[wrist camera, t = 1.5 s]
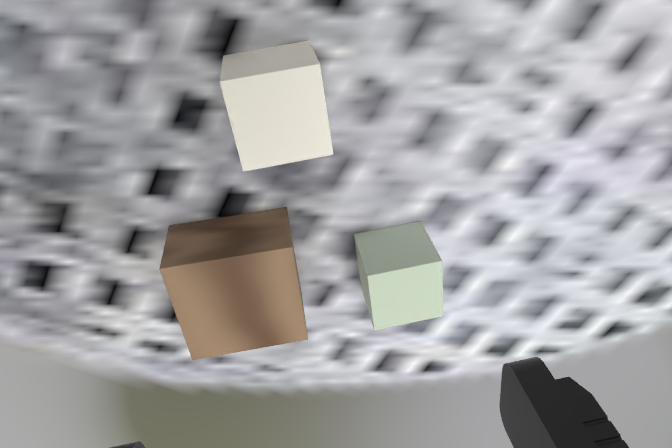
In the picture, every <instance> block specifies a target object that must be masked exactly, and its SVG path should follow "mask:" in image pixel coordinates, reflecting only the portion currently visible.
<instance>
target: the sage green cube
mask: <svg viewBox="0 0 672 448" xmlns="http://www.w3.org/2000/svg"><path fill="white" fill-rule="evenodd" d="M354 240H355V247H356V254H357V261H358V268H359V275H360V283H361V288H362V291H363V294H364V298H365V301H366V304H367V307H368V311H369V314H370V317H371V321H372V324H373V327H374V330H379V329H383V328H388V327H393V326H398V325H402V324H407V323H412V322H417V321H421V320H426V319H431V318H436V317H440V316H443V280H442V260H441V258H440V256H439V254H438V252H437V251H436V249H435V247H434V245H433V243H432V241H431V240H430V238H429V236H428V234H427V232H426V230H425V229H424V227H423V225H422V223H421V221H417V222H412V223H407V224H402V225H397V226H392V227H387V228H382V229H377V230H372V231H367V232H362V233H357V234H354Z"/></svg>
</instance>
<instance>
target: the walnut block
mask: <svg viewBox="0 0 672 448" xmlns="http://www.w3.org/2000/svg"><path fill="white" fill-rule="evenodd" d="M160 272H161V274H162V277H163V280H164V283H165V285H166V288H167V291H168V294H169V296H170V299H171V302H172V305H173V307H174V310H175V313H176V316H177V318H178V321H179V324H180V327H181V329H182V332H183V335H184V338H185V340H186V343H187V346H188V349H189V352H190V354H191V357H192V360H195V359H201V358H206V357H212V356H218V355H223V354H229V353H235V352H240V351H246V350H251V349H257V348H263V347H268V346H274V345H280V344H285V343H291V342H297V341H302V340H308V336H307V329H306V322H305V315H304V308H303V301H302V294H301V288H300V282H299V277H298V271H297V265H296V259H295V253H294V247H293V241H292V236H291V230H290V224H289V218H288V212H287V207H285V208H278V209H272V210H266V211H259V212H253V213H247V214H240V215H234V216H228V217H221V218H215V219H209V220H202V221H196V222H190V223H183V224H177V225H171V226H169V229H168V234H167V238H166V242H165V247H164V251H163V256H162V260H161V265H160Z"/></svg>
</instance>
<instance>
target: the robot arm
mask: <svg viewBox="0 0 672 448" xmlns="http://www.w3.org/2000/svg"><path fill="white" fill-rule="evenodd" d="M500 413H501V417H502V421H503V424H504V427H505V430H506V432H507V434H508V436H509V439H510V441H511V443H512V445H513V447H514V448H629V447H628V445H627V444H626V443H625V441H624V440H622V439H621V437H620V434H619V433H618V431H617V430H616V428H615V427H614V425H613V424H612V423H611V421H609V420H608V418H607V415H606V414H605V412H604V411H603V410H602V408H601V407H600V405H599V404H598V402H597V401H596V400H595V398H594V397H593V395H592V394H591V393H590V392H588V391H587V390H586V389H584V388H583V387H582V386H580V385H579V384H578V383H577V382H575V381H574V380H573V379H571V378H570V377H566V378H561V379H556V380H555V379H554V378H553V376H552V374H551V373H550V371H549V370H548V368H547V367H546V365H545V364H544V362H543V361H542V360H541V359H540V358H538V357H534V358H529V359H525V360H520V361H515V362H511V363H506V364H504V365H503V368H502V381H501V394H500ZM111 448H145V447H144V445H143V444H142V443H141V442H134V443H130V444H125V445H120V446H116V447H111Z"/></svg>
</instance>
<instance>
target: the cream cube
mask: <svg viewBox="0 0 672 448" xmlns="http://www.w3.org/2000/svg"><path fill="white" fill-rule="evenodd" d="M220 86H221V89H222V93H223V97H224V101H225V104H226V108H227V112H228V116H229V119H230V123H231V127H232V131H233V134H234V138H235V142H236V146H237V150H238V153H239V157H240V161H241V165H242V168H243V172H244V171H249V170H254V169H260V168H265V167H270V166H276V165H281V164H286V163H291V162H297V161H302V160H307V159H313V158H318V157H323V156H329V155H333V148H332V141H331V135H330V128H329V121H328V115H327V108H326V101H325V95H324V88H323V82H322V75H321V68H320V63H319V61H318V59H317V56H316V54H315V52H314V50H313V47H312V45H311V43H310V41H309V40H308V41H302V42H297V43H291V44H286V45H280V46H274V47H269V48H263V49H257V50H252V51H246V52H240V53H235V54H229V55H223V60H222V67H221V75H220Z"/></svg>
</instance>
